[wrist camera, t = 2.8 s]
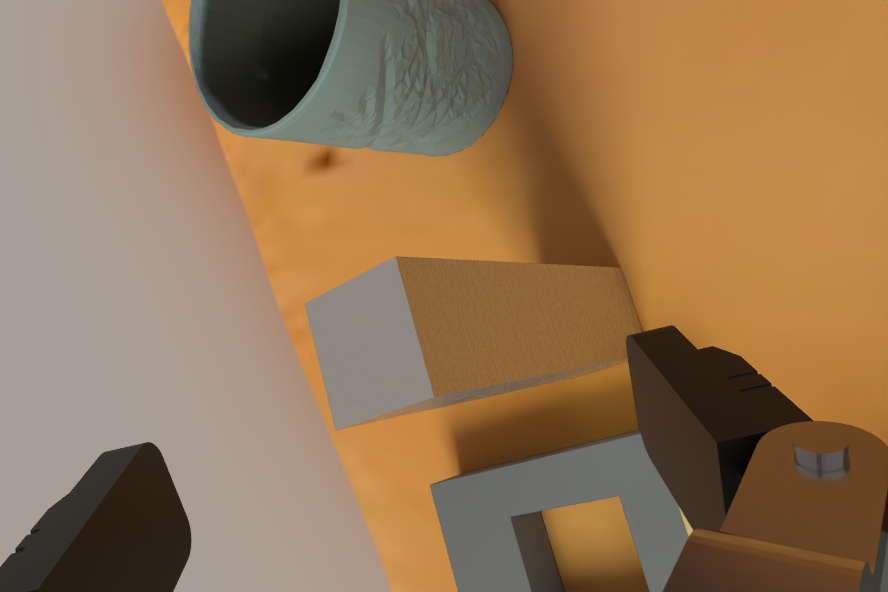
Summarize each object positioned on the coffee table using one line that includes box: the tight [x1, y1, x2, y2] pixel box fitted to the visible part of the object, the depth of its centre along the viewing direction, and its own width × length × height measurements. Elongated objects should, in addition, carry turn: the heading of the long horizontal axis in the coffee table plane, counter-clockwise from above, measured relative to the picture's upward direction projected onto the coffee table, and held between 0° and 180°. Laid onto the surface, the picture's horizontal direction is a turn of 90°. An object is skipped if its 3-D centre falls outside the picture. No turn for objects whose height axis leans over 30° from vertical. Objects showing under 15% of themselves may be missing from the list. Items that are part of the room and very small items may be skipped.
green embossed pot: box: [189, 0, 513, 156], centre depth 33 cm, size 10×10×12 cm
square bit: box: [305, 256, 643, 430], centre depth 26 cm, size 4×4×15 cm
